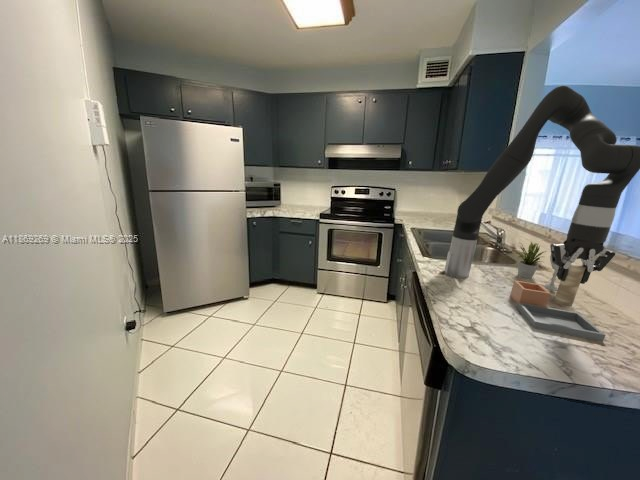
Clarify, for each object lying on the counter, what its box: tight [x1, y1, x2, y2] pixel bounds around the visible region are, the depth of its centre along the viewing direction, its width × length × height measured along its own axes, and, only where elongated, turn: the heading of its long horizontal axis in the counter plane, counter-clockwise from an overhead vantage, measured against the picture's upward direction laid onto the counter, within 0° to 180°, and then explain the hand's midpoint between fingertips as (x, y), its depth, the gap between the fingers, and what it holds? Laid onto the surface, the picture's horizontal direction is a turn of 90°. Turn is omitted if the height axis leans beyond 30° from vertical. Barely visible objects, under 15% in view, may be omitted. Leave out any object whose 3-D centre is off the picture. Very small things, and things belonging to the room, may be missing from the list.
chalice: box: [543, 248, 566, 292], centre depth 100 cm, size 7×7×18 cm
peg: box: [553, 262, 586, 308], centre depth 74 cm, size 4×4×12 cm
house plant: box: [513, 241, 547, 279], centre depth 115 cm, size 14×14×16 cm
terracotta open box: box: [509, 279, 551, 307], centre depth 88 cm, size 8×8×7 cm
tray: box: [516, 302, 606, 342], centre depth 77 cm, size 16×12×3 cm
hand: (570, 281), depth 74 cm, fingers closed on peg, 4 cm apart
